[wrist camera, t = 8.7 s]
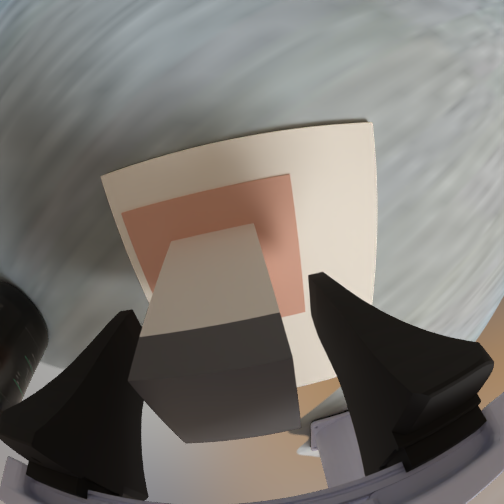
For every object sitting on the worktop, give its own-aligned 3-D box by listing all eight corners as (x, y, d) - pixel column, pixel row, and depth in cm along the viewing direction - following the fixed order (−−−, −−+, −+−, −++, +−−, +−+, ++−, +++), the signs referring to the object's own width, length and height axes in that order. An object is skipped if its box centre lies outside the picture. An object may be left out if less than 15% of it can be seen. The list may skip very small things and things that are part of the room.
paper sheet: (360, 365, 20) (362, 369, 19) (204, 399, 20) (204, 404, 19) (368, 121, 11) (373, 122, 11) (103, 174, 11) (99, 177, 11)
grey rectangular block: (267, 291, 15) (301, 427, 7) (194, 306, 15) (185, 443, 7) (253, 222, 13) (292, 357, 6) (171, 241, 13) (127, 380, 6)
